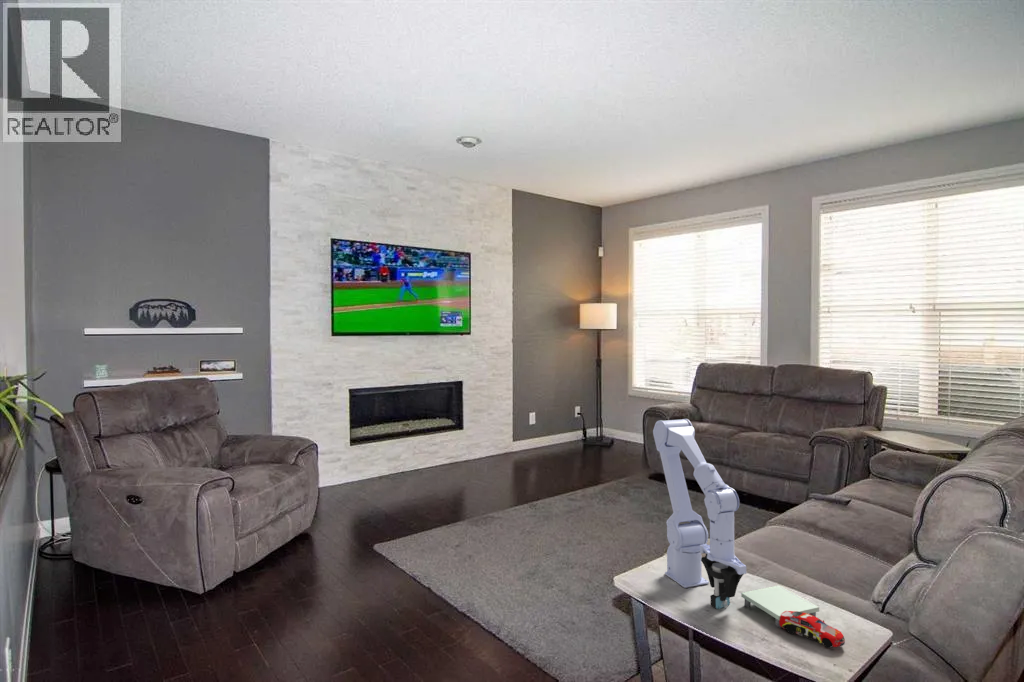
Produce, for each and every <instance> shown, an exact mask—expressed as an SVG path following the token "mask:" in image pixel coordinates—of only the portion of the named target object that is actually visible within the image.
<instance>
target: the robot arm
mask: <svg viewBox="0 0 1024 682" xmlns="http://www.w3.org/2000/svg"><path fill="white" fill-rule="evenodd" d="M652 434H653V439H654V443H655V447H656V451H657V452H658V453H659V455H660V459H661V463H662V469H663V473H664V478H665V482H666V486H667V490H668V494H669V499H670V503H671V508H672V513H671V515H670V516H669V518H668V519H666V522H665V523H666V529H667V530H666V536H667V537H666V538H667V541H668V543H669V545H668V547H667V550H666V571H664V575H666V576H667V577H668V578H670V579H671V580H673V581H674V582H676V583H677V584H679V586H681V587H683V588H685V589H686V588H692V587H698V586H701V585H703V586H704V585H707V584H709V585H710V587H711V588H714V578H713V577H712V576H711V575H710V571H709V567H710V566H712V564H713V563H723V564H725V565H726V566H728V568H724V569H720V571H721V573H722V575H723V579H724V584H725V594H726V597H728V598H730V599H731V598H734V597H735V595H736V592H737V589H738V586H739V583H740V581H741V579H742V577H743V576H744V575H746V574H747V565H746V564H744V563H743V562H742V561H741V560H740V559H739V558H738V557H737V556H736V554H735V512H737V511H738V510H739V507H740V498H739V494H738V493H737V491H736V490H735V489H734V488H733V487H730V486H729V484H726V483H725V482H724V480H723V479H722V477H721V475H720V474H719V472H718V471H717V469H716V467H715V466H714V465H713V464H712V463H709V462H707V461H706V459H705V457H704V455H703V453H702V451H701V449H700V447H699V445H698V443H697V441H696V438H695V434H696V431H695V428H694V426H693V424H692V422H691V421H690V419H688V418H682V419H668V420H662V419H661V420H657V421H656V422H655V424H654V427H653V430H652ZM681 452H682V453H683V455H684V456H685V457H686V458H687V460H688V461H689V462H690V464H691V465H692V468H693V469H694V471H693V473H692V475H693V477H694V478H695V481H696V482H697V484H698V485H699V487H700V489H701V491H702V492H703V494H704V498H703V499H704V505H705V508H706V511H707V518H708V519H709V531H708V528H707V526H706V525H705V524H704V521H703V517H702V515H700V514H698V513H697V512H696V511H695V510H693V507H692V503H691V498H690V494H689V491H688V485H687V482H686V478H685V473H684V471H683V469H684V468H683V465H682V461H681V457H680V453H681ZM684 522H685V523H684ZM708 541H709V542H708ZM708 543H709V544H708ZM702 554H705V556H703V557H702ZM702 564H703V566H704V568H705V571H706V574H707V578H708V580H707V579H705V578H704V577H703V575H702V573H703V571H702Z"/></svg>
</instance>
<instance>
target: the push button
mask: <svg viewBox="0 0 1024 682" xmlns="http://www.w3.org/2000/svg"><path fill="white" fill-rule="evenodd" d="M724 568H728V566H726V565H725V564H723V563H713V564H712V566H710V567H709V571H710V575H711V576H712V577H713V578H714V587H713V588H714V589H713V594H711V595H710V607H712V608H715V609H717V610H720V609H722V608H727V607H728V606H729V605H730V604H731V602H730V601H732V598H731V597H730V598H728V597H726V594H725V584H724V579H723V575H722V573H721V571H720V569H724Z"/></svg>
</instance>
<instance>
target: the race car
mask: <svg viewBox="0 0 1024 682" xmlns="http://www.w3.org/2000/svg"><path fill="white" fill-rule="evenodd" d="M779 625H780V626H781V627H782V629H783V630H786V631H787V632H788V634H796V635H799V636H801V637H804V638H806V639H808V640H812V641H815V642H817V643H820V644H823V646H824V647H825V648H828V649H830V648H840V647H842V646H844V645H845V642H846V640H845V636H844V634H843V633H842V631H840V630H839V629H837V628H835V627H834V626H831V625H829V624H827V623H826V622H825V620H822V619H820V618H818V617H817V616H816V617H815V616H813V615H810V614H807V613H803V612H798V611H785V612H783V613H782V614H781V616H780V620H779Z"/></svg>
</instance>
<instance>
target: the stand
mask: <svg viewBox="0 0 1024 682" xmlns="http://www.w3.org/2000/svg"><path fill="white" fill-rule="evenodd" d="M740 596H741V598H742V599H744V607H746V608H751V606H752V605H754V606H756V607H757V608H758V609H760V610H762V611H764V612H765V613H767V614H768V615H770V616H771V617H773V618H775V627H777V628H779V629H780V628H782V627H781V626H780V625H779V620H780V616H781V614H782V613H783V612H785V611H798V612H803V613H807V614H810V615H813V616H815V617H817V615H816V614H817V612H820V606H818V605H816V604H814V603H812V602H811V601H809V600H807V599H806V598H803V597H802V596H800V595H798V594H797V593H794V592H793V591H790V590H789V589H787V588H785V587H784V586H782V585H780V584H777V585H774V586H769V587H763V588H758V589H754V590H749V591H742V592H741V595H740ZM751 604H752V605H751ZM782 629H783V628H782Z"/></svg>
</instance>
